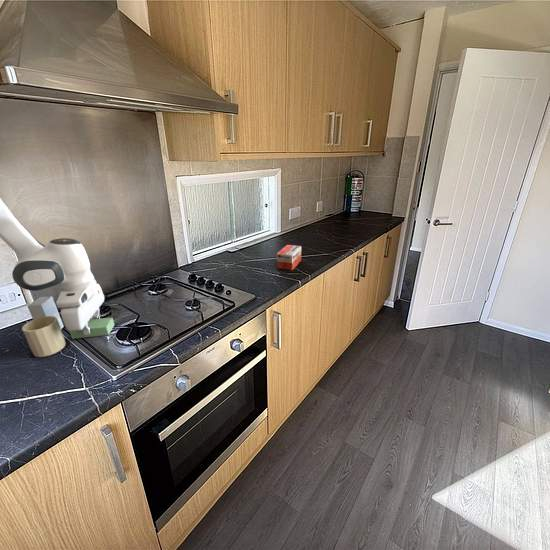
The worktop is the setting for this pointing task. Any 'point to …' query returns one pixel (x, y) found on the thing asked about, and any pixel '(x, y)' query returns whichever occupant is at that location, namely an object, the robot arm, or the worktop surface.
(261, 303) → the worktop surface
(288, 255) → the medicine box
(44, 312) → the cosmetic box
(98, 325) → the green flat block
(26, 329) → the cup
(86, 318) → the robot arm
